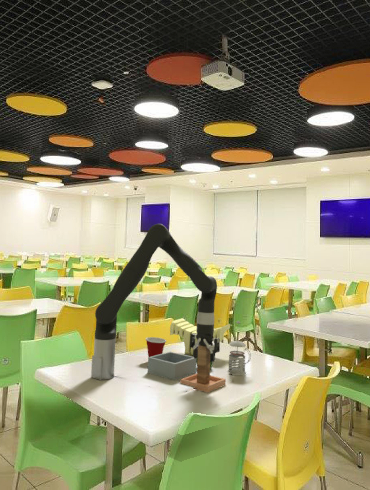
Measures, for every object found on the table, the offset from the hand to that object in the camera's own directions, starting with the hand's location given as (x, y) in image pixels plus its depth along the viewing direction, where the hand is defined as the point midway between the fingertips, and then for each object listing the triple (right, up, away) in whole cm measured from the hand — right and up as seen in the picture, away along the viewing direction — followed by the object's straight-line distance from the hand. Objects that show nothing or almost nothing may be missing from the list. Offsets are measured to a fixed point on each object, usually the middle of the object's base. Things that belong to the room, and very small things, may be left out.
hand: (203, 359), depth 177 cm
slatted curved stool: (0, -12, +55) cm, 56 cm away
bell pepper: (+1, -12, +24) cm, 26 cm away
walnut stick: (0, -10, 0) cm, 10 cm away
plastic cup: (-24, -11, +34) cm, 43 cm away
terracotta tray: (0, -11, 0) cm, 11 cm away
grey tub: (-14, -11, +13) cm, 22 cm away
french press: (+18, -12, +20) cm, 29 cm away
